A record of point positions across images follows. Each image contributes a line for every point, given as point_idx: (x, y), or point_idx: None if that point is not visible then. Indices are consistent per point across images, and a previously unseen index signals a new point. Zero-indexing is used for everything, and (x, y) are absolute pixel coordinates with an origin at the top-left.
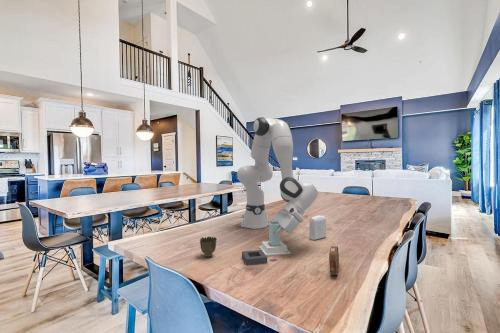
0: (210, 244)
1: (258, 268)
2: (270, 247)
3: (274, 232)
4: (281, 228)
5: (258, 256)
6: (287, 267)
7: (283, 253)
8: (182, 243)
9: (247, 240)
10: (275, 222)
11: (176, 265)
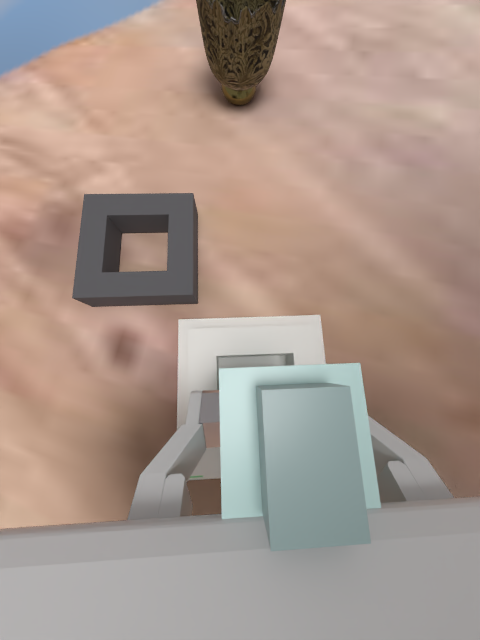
0: (197, 7)
1: (52, 255)
2: (198, 351)
3: (213, 399)
4: (136, 511)
5: (99, 256)
6: (9, 390)
7: (177, 428)
8: (401, 23)
9: (433, 279)
10: (264, 470)
11: (177, 8)
